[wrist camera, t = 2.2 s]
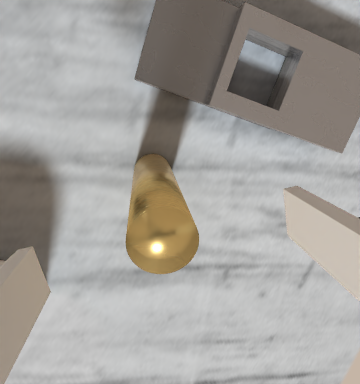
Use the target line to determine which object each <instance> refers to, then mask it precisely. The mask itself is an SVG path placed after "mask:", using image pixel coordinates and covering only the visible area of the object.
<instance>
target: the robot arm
mask: <svg viewBox="0 0 360 384" xmlns="http://www.w3.org/2000/svg"><path fill="white" fill-rule="evenodd" d="M283 191H284V202H285V213H286V224H287V235H288V237H290V238H291V239H292V240H293V241H294V242H295V243H296V244H297V245H298V246H299V247H301V248H302V249H303V250H304V251H305V252H306V253H307V254H308V255H309V256H310V257H311V258H313V259H314V260H315V261H316V262H317V263H318V264H319V265H320V266H321V267H322V268H323V269H325V270H326V271H327V272H328V273H329V274H330V275H331V276H332V277H333V278H334V279H336V280H337V281H338V282H339V283H340V284H341V285H342V286H343V287H344V288H345V289H346V290H348V291H349V292H350V293H351V294H352V295H353V296H354V297H355V298H356V299H357V300H358V301H360V217H358V218H357V217H355V216H354V215H352V214H350V213H348V212H346V211H344V210H342V209H340V208H338V207H336V206H335V205H333V204H331V203H329V202H327V201H325V200H323V199H321V198H319V197H318V196H316V195H314V194H312V193H310V192H308V191H306V190H304V189H302V188H301V187H299V186H294V187H290V188H285V189H283ZM50 292H51V291H50V289H49V286H48V284H47V281H46V279H45V276H44V274H43V271H42V269H41V266H40V264H39V261H38V259H37V256H36V253H35V251H34V248H33V246H31V247H27V248H23V249H18V250H17V251H16V252H15V253H14V254H13V255H12V256H11V257H10V258H9V260H8V261H7V262H6V263H5V264H4V265H3V266H2V267H1V269H0V384H4V383H5V381H6V379H7V377H8V375H9V373H10V371H11V369H12V367H13V365H14V363H15V361H16V359H17V357H18V355H19V353H20V351H21V349H22V348H23V346H24V344H25V342H26V340H27V338H28V336H29V334H30V332H31V330H32V328H33V326H34V324H35V322H36V320H37V318H38V316H39V314H40V312H41V310H42V308H43V306H44V304H45V302H46V300H47V298H48V296H49V294H50Z"/></svg>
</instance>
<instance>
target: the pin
mask: <svg viewBox="0 0 360 384" xmlns="http://www.w3.org/2000/svg"><path fill="white" fill-rule="evenodd" d="M198 245H199V234H198V230H197V227H196V225H195V223H194V221H193V218H192V216H191V214H190V211H189V209H188V207H187V204H186V202H185V200H184V197H183V195H182V193H181V191H180V188H179V186H178V184H177V181H176V179H175V177H174V174H173V172H172V170H171V167H170V165H169V163H168V161H167V160H166V159H165V158H164V157H162V156H160V155H158V154H147V155H144V156H143V157H141V158H140V159H139V160H138V161H137V163H136V164H135V167H134V174H133V183H132V191H131V200H130V208H129V217H128V225H127V234H126V249H127V252H128V255H129V257H130V258H131V260H132V261H133V262H134V263H135V264H136V265H137V266H138V267H139V268H141V269H143V270H145V271H147V272H150V273H155V274H167V273H172V272H175V271H177V270H179V269H181V268H183V267H184V266H186V265H187V264H188V263H189V262H190V261H191V260H192V258H193V257H194V255H195V254H196V251H197V249H198Z"/></svg>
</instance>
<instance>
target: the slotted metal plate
mask: <svg viewBox="0 0 360 384" xmlns="http://www.w3.org/2000/svg"><path fill="white" fill-rule="evenodd" d="M245 39H246V40H249V41H251V42H253V43H255V44H258V45H260V46H262V47H265V48H267V49H269V50H272V51H274V52H276V53H279V54H281V55H283V56H286V58H285V61H284V64H283V66H282V69H281V71H280V74H279V76H278V79H277V81H276V84H275V86H274V89H273V91H272V94H271V96H270V99H269V101H268V104H267V106H265V105H262V104H260V103H257V102H254V101H252V100H249V99H247V98H244V97H241V96H239V95H236V94H233V93H231V92H228V91H227V89H228V86H229V83H230V80H231V78H232V75H233V72H234V69H235V67H236V64H237V61H238V58H239V55H240V53H241V50H242V47H243V44H244V42H245ZM135 80H137V81H140V82H142V83H145V84H148V85H151V86H153V87H156V88H159V89H162V90H164V91H167V92H170V93H172V94H175V95H178V96H181V97H183V98H186V99H189V100H192V101H194V102H197V103H200V104H203V105H205V106H208V107H211V108H214V109H216V110H219V111H222V112H225V113H227V114H230V115H233V116H236V117H238V118H241V119H244V120H247V121H249V122H252V123H255V124H258V125H260V126H263V127H266V128H269V129H274V130H277V131H280V132H282V133H285V134H288V135H291V136H293V137H296V138H299V139H301V140H304V141H307V142H310V143H312V144H315V145H318V146H321V147H323V148H326V149H329V150H332V151H335V152H339V153H342V152H343V150H344V148H345V146H346V144H347V142H348V140H349V138H350V136H351V134H352V132H353V130H354V128H355V125H356V123H357V121H358V119H359V117H360V54H357V53H355V52H353V51H351V50H349V49H346V48H344V47H342V46H340V45H338V44H336V43H333V42H331V41H329V40H327V39H325V38H323V37H320V36H318V35H316V34H314V33H312V32H309V31H307V30H305V29H303V28H301V27H299V26H296V25H294V24H292V23H290V22H288V21H285V20H283V19H281V18H279V17H277V16H275V15H272V14H270V13H268V12H266V11H264V10H262V9H259V8H257V7H255V6H253V5H251V4H248V3H246V2H245V3H244V4H243V5H242V6H241V7H240V8H238V7H236V6H234V5H231V4H229V3H227V2H225V1H222V0H156V3H155V7H154V11H153V14H152V18H151V21H150V25H149V29H148V32H147V36H146V39H145V43H144V46H143V50H142V54H141V57H140V61H139V64H138V68H137V71H136V75H135Z"/></svg>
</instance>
